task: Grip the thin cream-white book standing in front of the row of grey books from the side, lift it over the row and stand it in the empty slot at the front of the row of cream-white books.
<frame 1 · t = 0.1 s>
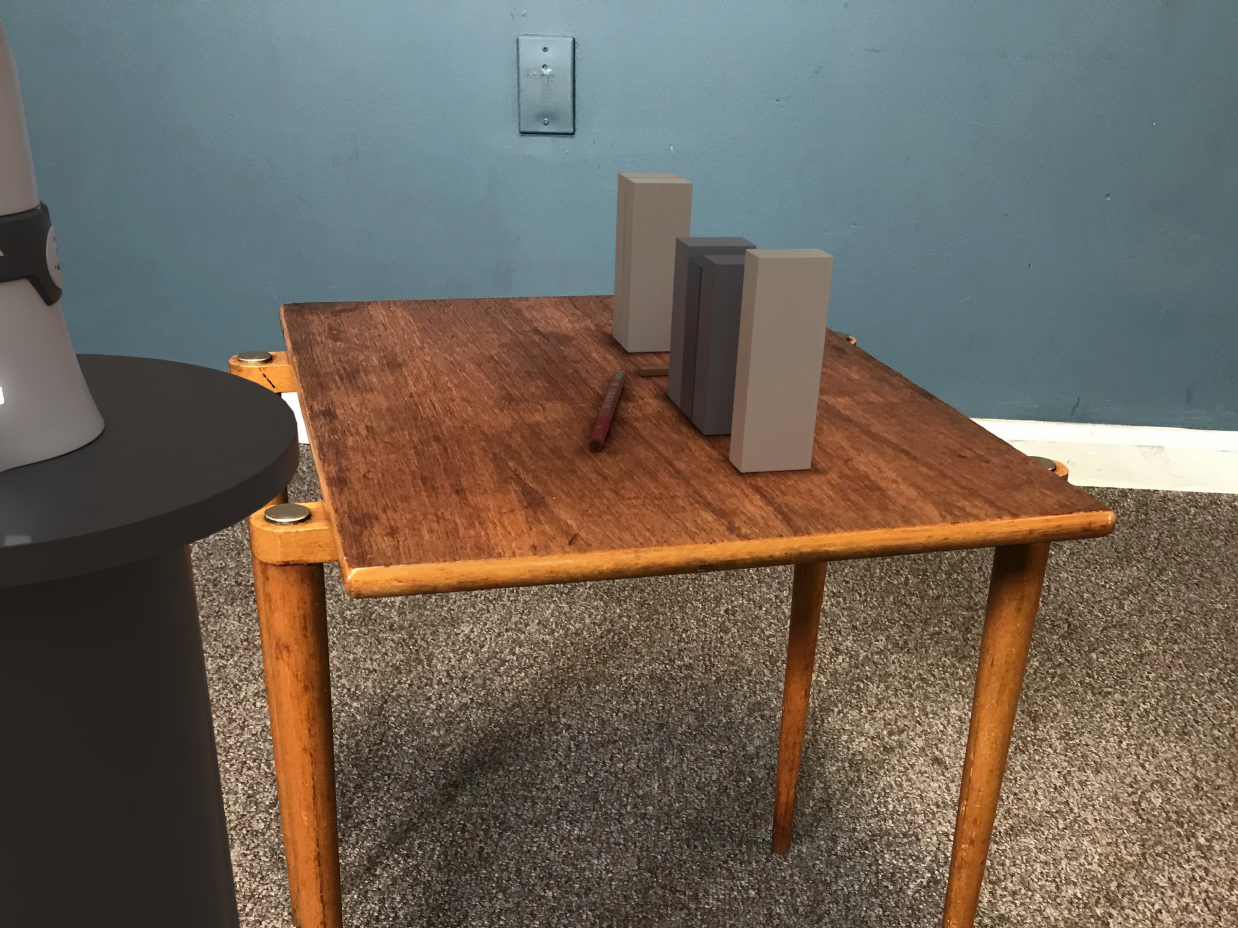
white books: (677, 373, 105), on the table
white book: (769, 464, 86), on the table
pencil: (609, 413, 95), on the table
grey books: (723, 334, 93), on the table
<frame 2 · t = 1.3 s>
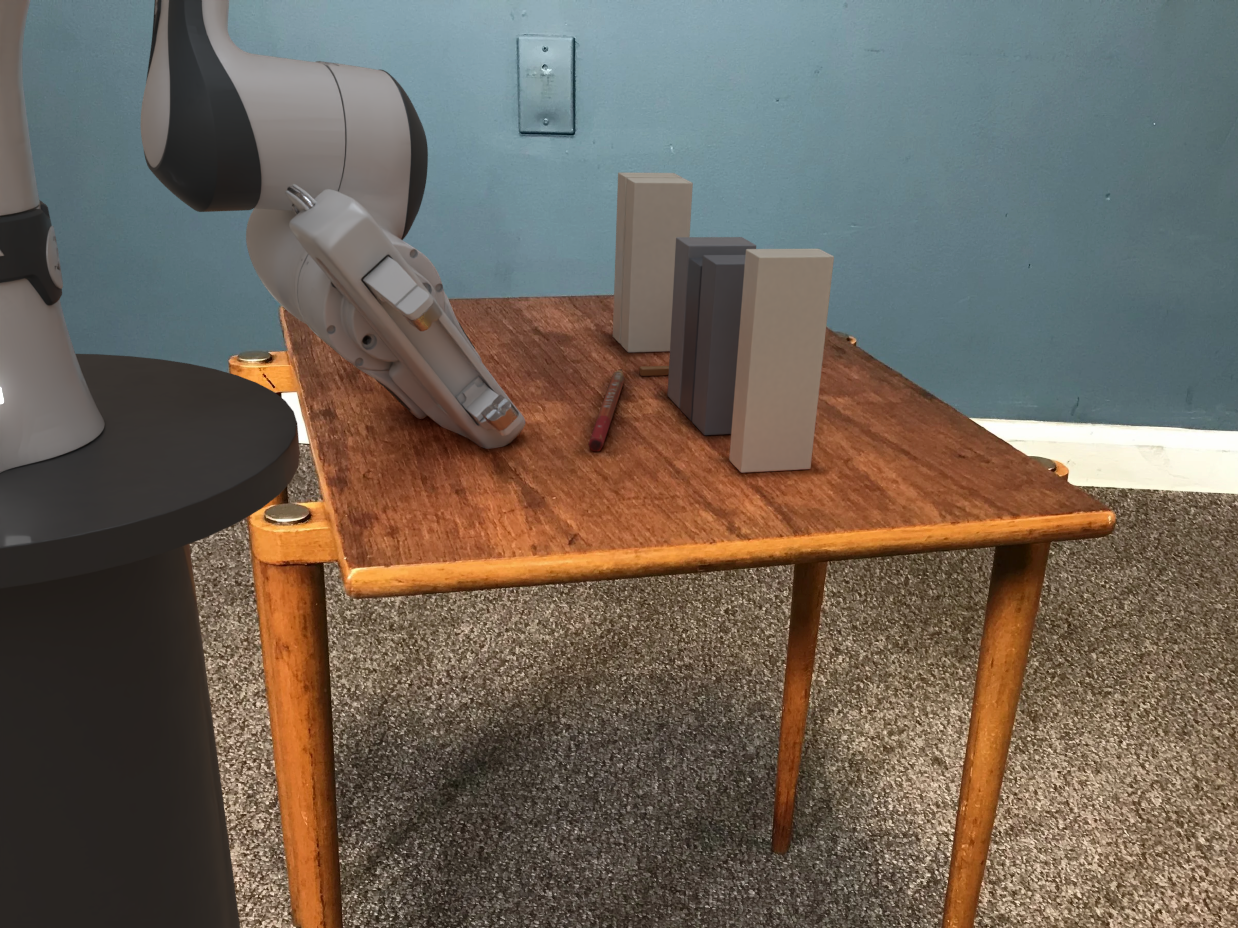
hand: (470, 370, 77), 7 cm above the table, tool horizontal, fingers open, 8 cm apart
nothing on the table moved.
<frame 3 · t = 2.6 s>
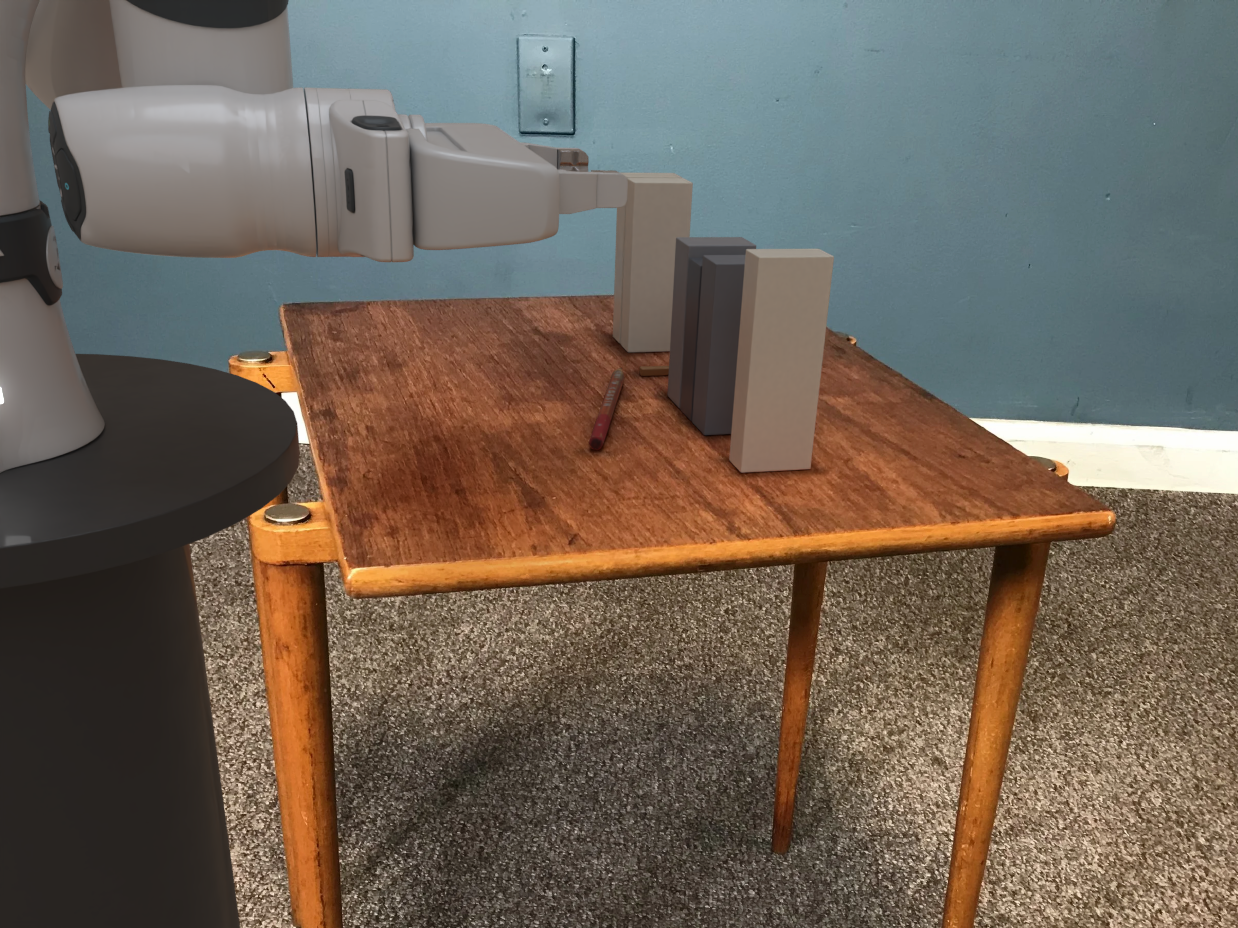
hand: (604, 176, 75), 18 cm above the table, tool horizontal, fingers open, 8 cm apart
nothing on the table moved.
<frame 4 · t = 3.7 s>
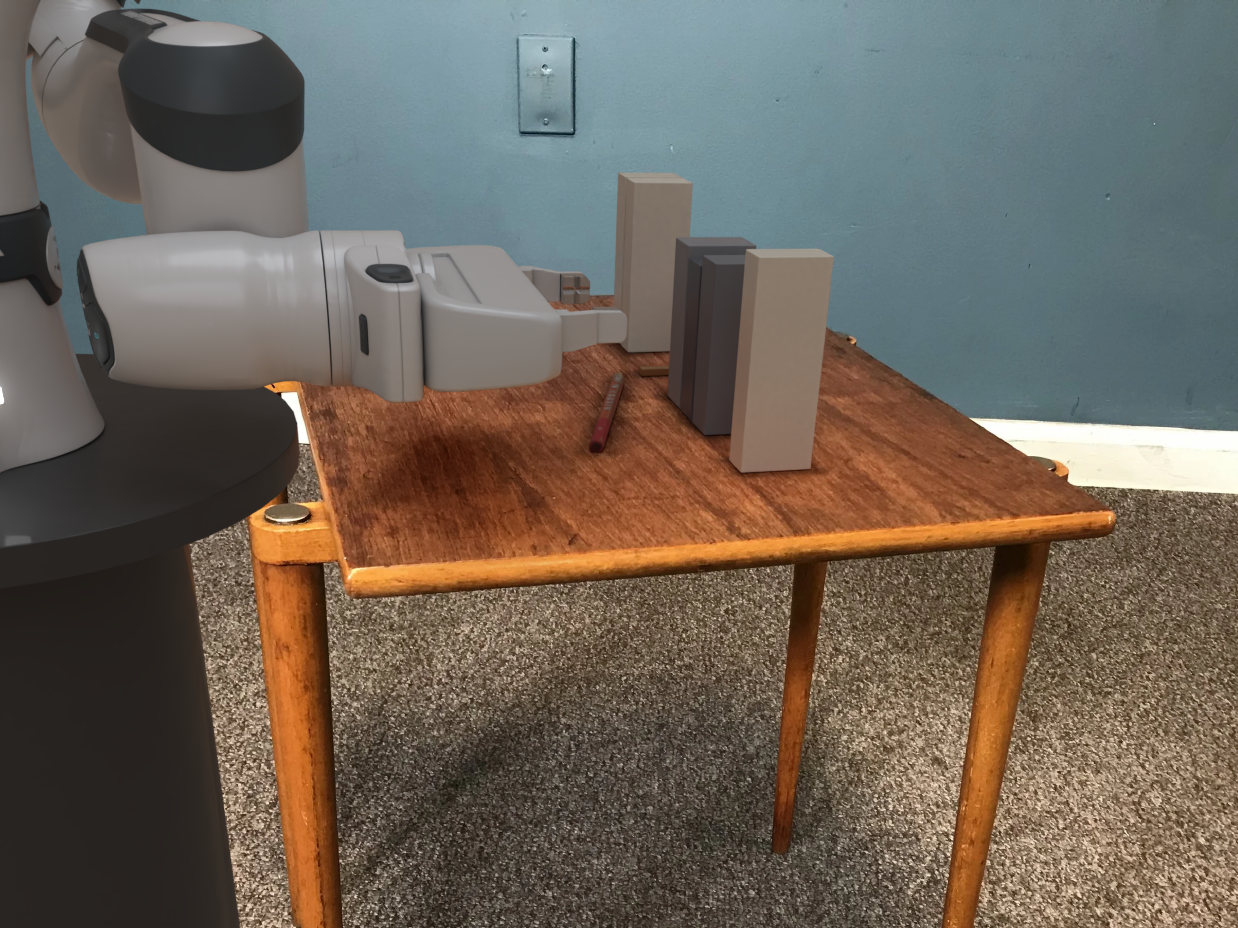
hand: (605, 305, 78), 11 cm above the table, tool horizontal, fingers open, 8 cm apart
nothing on the table moved.
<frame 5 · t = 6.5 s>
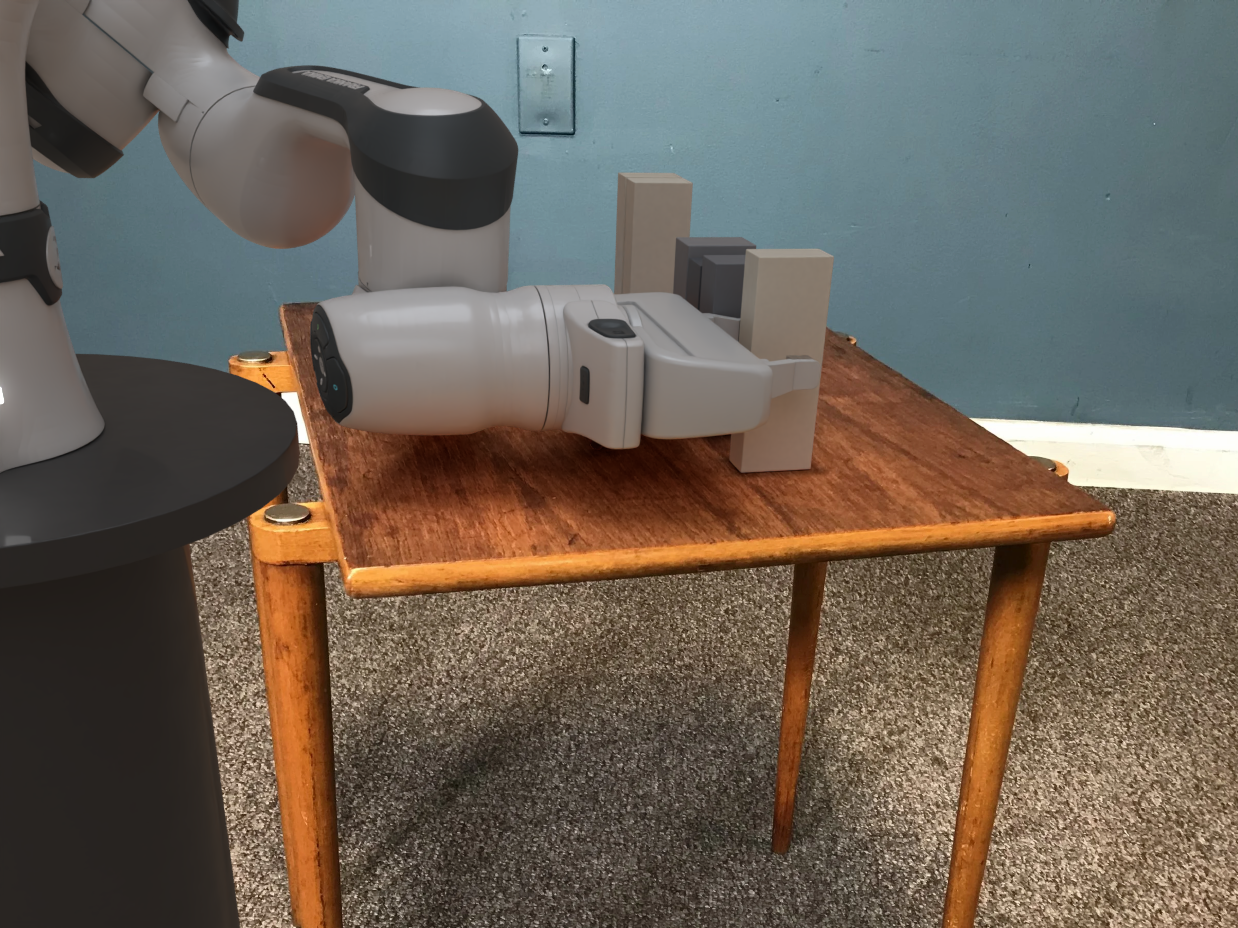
hand: (788, 351, 83), 8 cm above the table, tool horizontal, fingers open, 8 cm apart
nothing on the table moved.
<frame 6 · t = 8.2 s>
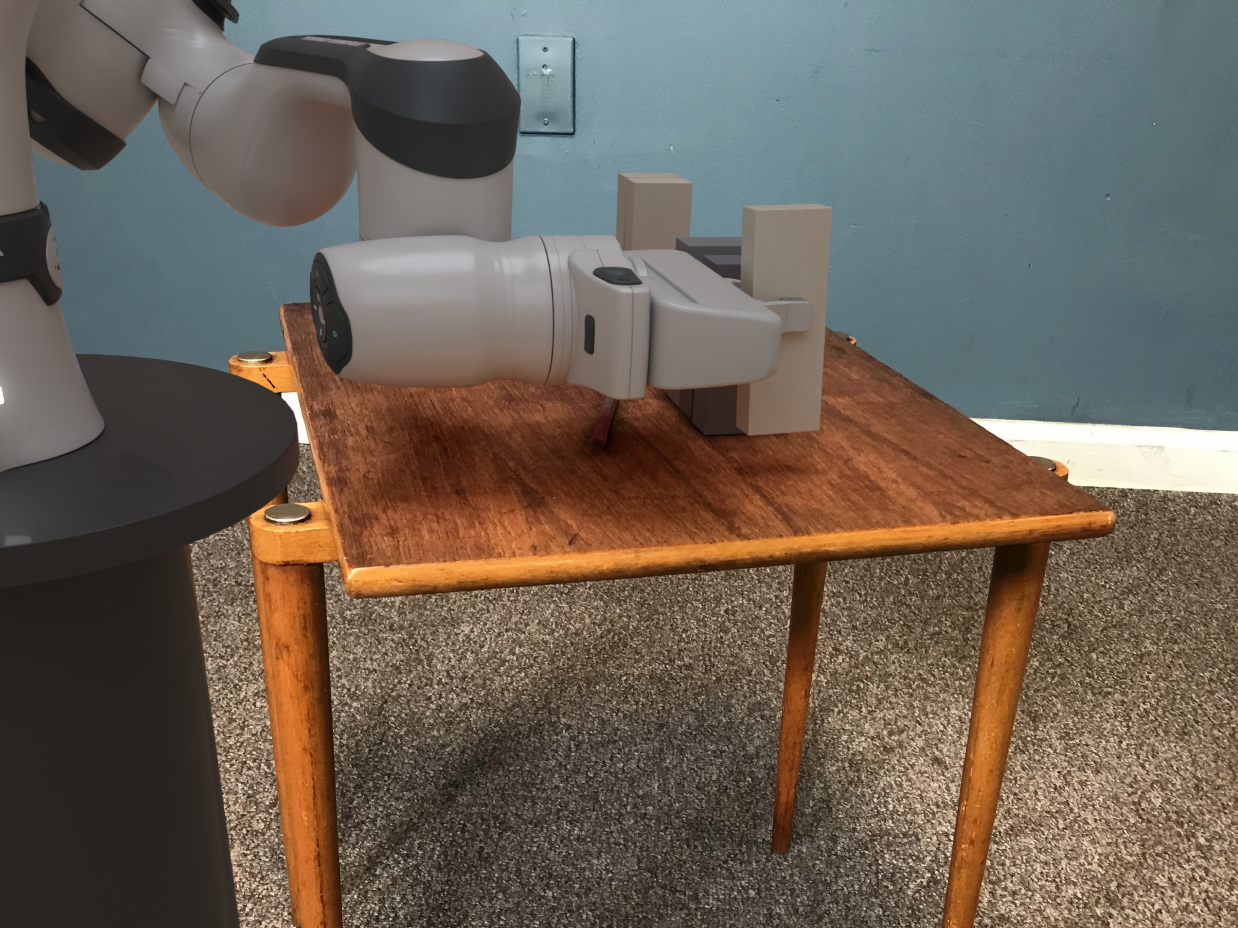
hand: (797, 307, 81), 11 cm above the table, tool horizontal, fingers closed on white book, 2 cm apart
white book: (777, 428, 84), point 3 cm above the table, touching gripper
everything else where it was.
when the fingers open (9 cm above the table, at t = 18.6 s): white book stays where it is, resting on white books.
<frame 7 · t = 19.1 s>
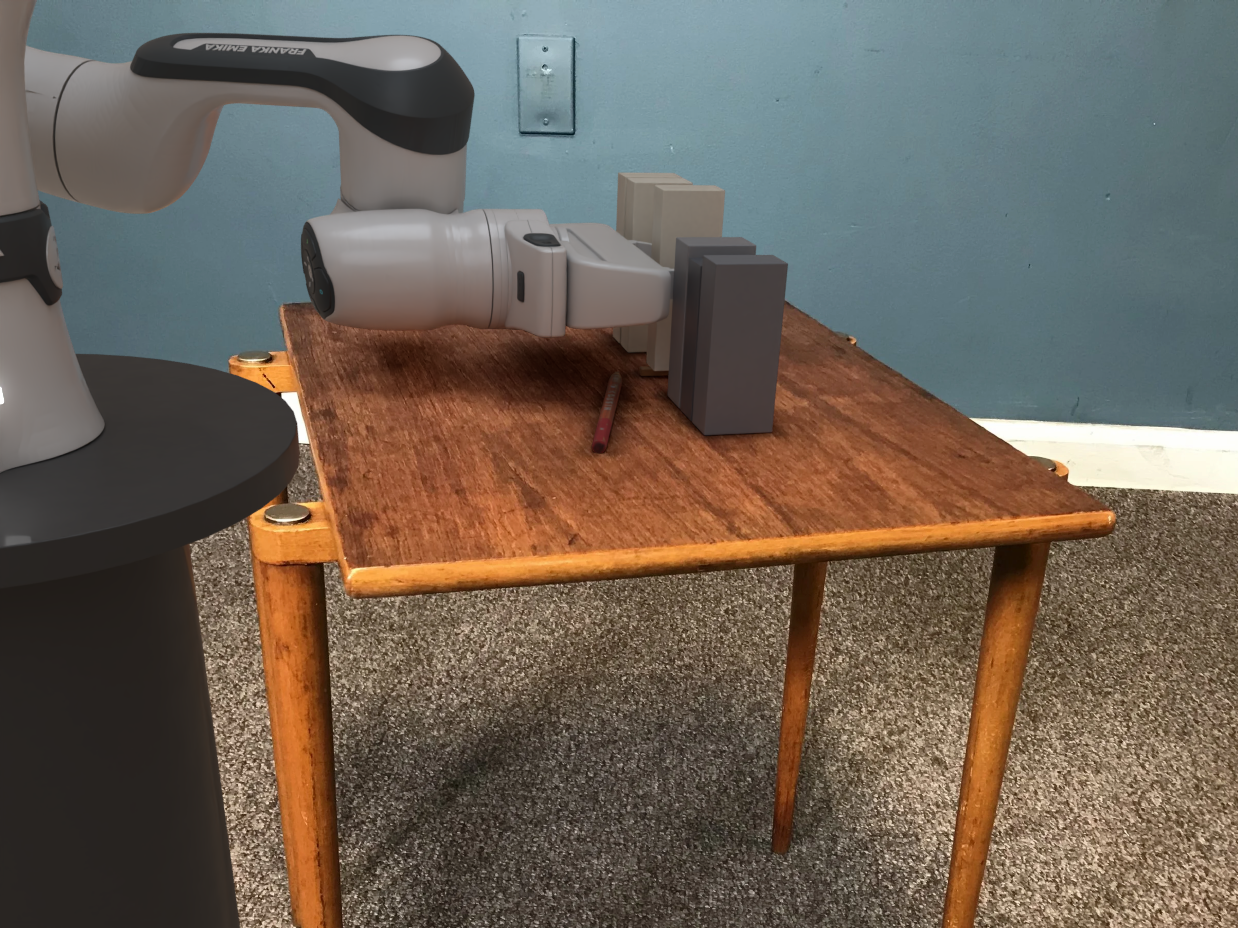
hand: (693, 267, 101), 9 cm above the table, tool horizontal, fingers open, 7 cm apart
white book: (679, 366, 105), point 1 cm above the table, touching white books
everything else where it was.
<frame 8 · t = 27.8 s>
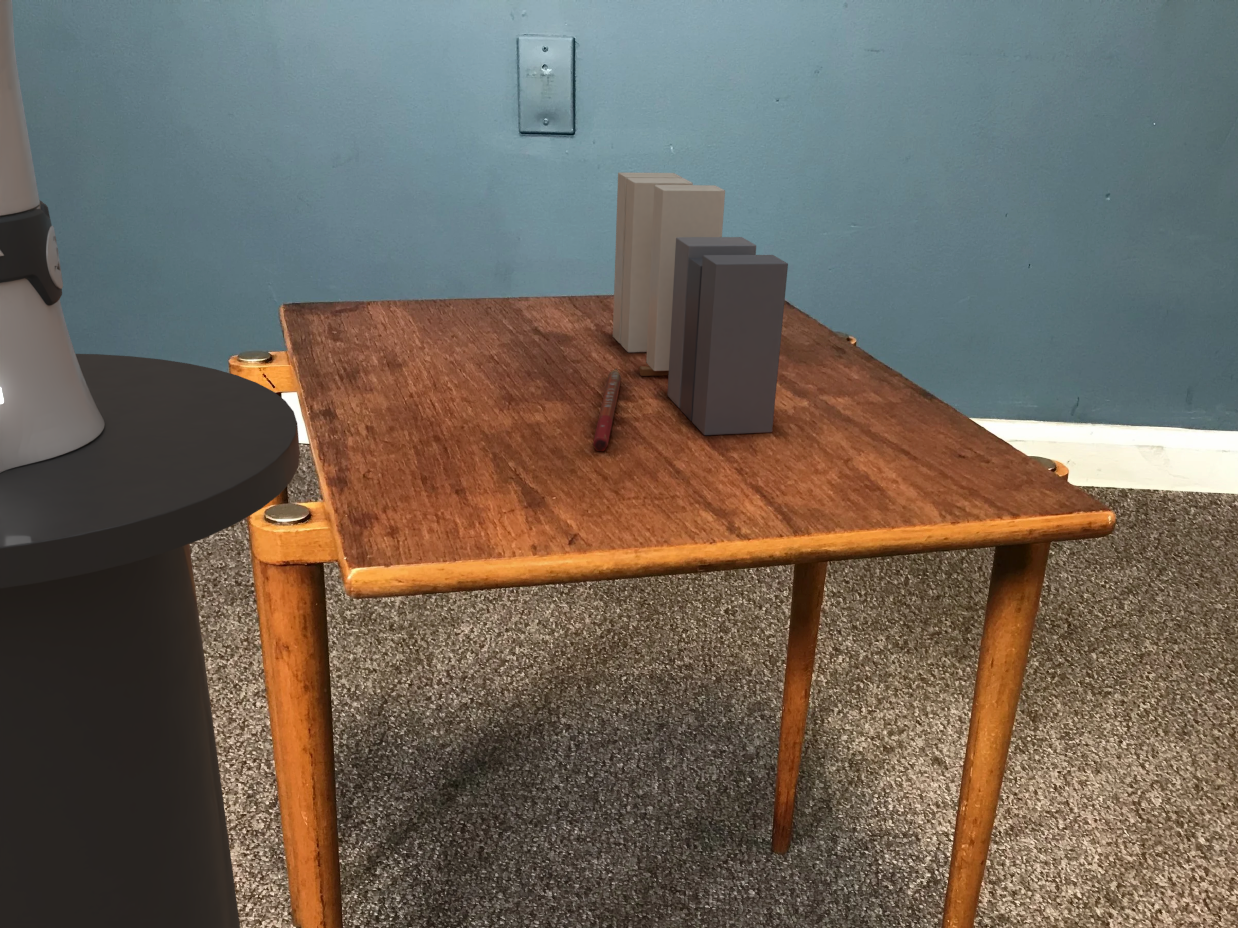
nothing on the table moved.
at the end: white book 0.1 cm off-centre on the white books, point 0.6 cm above the white books's base; white book tilted 0°; the gripper is holding nothing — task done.
